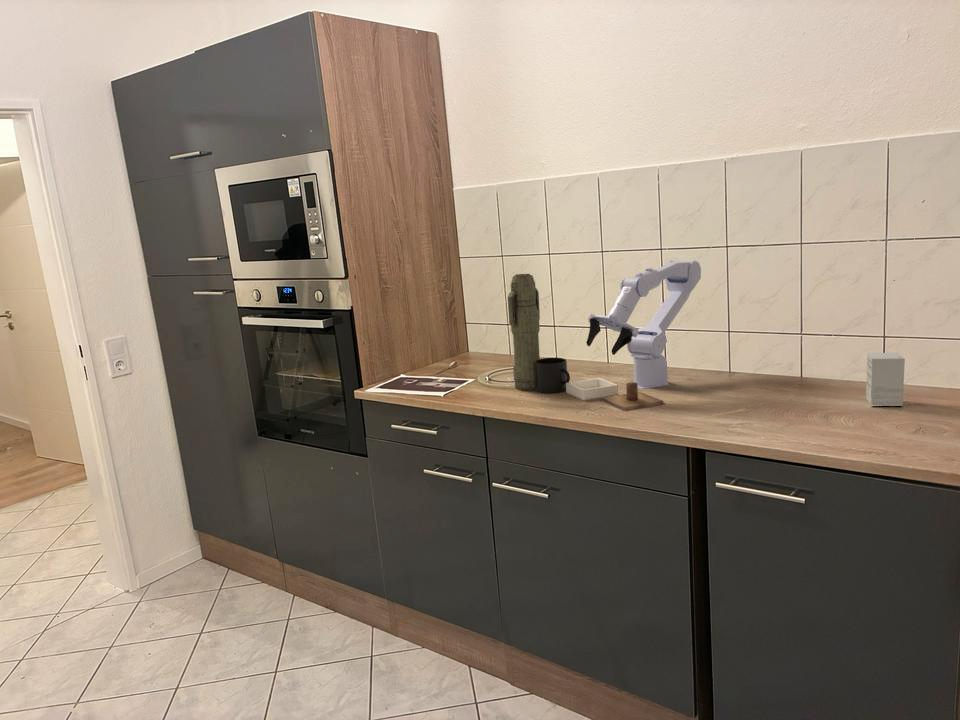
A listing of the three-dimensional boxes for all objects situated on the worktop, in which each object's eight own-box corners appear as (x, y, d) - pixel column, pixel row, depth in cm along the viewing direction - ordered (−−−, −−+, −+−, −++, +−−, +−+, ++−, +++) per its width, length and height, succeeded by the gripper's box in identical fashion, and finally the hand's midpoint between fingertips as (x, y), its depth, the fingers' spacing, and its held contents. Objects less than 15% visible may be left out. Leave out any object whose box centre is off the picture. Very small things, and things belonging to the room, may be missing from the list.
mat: (640, 395, 211) (640, 393, 211) (666, 405, 199) (666, 403, 199) (599, 401, 207) (599, 400, 206) (624, 412, 195) (624, 411, 194)
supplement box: (897, 400, 189) (899, 352, 187) (903, 408, 182) (905, 358, 180) (865, 399, 192) (866, 352, 189) (869, 407, 185) (871, 358, 182)
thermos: (505, 389, 229) (498, 276, 222) (528, 381, 237) (522, 272, 230) (527, 392, 223) (521, 276, 216) (551, 383, 231) (545, 272, 224)
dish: (599, 389, 221) (598, 377, 220) (618, 396, 211) (617, 384, 210) (566, 394, 217) (565, 382, 217) (583, 402, 207) (583, 390, 206)
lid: (639, 394, 210) (639, 376, 209) (663, 403, 199) (663, 384, 198) (602, 400, 206) (601, 382, 205) (624, 410, 195) (624, 391, 194)
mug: (559, 396, 216) (558, 366, 214) (530, 390, 225) (528, 361, 223) (580, 389, 222) (579, 360, 220) (551, 384, 231) (550, 356, 229)
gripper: (596, 295, 209) (575, 332, 204) (644, 310, 202) (623, 348, 197) (599, 309, 215) (578, 346, 210) (645, 324, 208) (625, 362, 203)
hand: (600, 348), depth 204 cm, fingers open, 7 cm apart
